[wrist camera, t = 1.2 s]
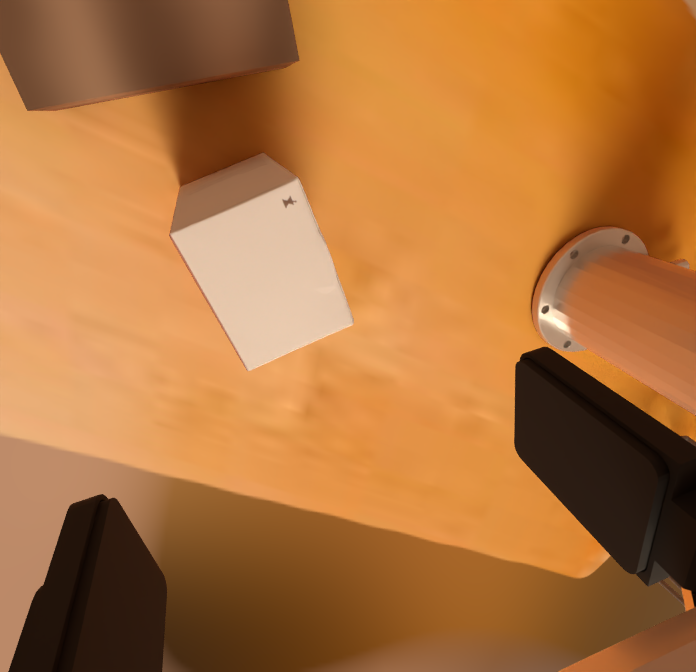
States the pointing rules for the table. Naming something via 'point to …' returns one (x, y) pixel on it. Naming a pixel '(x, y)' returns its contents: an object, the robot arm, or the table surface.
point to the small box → (259, 259)
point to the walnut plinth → (137, 46)
